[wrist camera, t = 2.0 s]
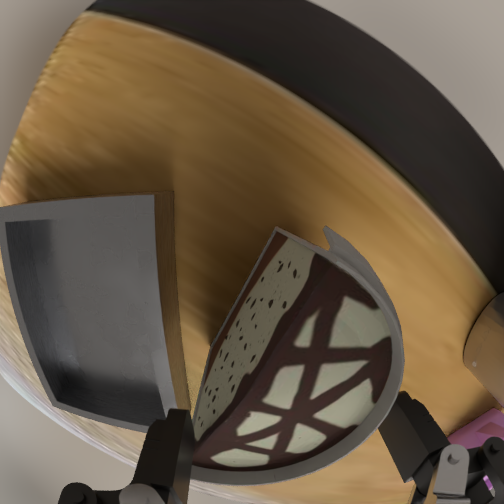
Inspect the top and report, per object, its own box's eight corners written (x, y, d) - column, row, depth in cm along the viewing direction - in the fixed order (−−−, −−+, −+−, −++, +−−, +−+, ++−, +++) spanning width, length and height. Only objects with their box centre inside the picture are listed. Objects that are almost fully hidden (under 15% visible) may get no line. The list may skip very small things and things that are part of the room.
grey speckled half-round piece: (276, 389, 19) (290, 502, 9) (202, 361, 18) (176, 480, 9) (370, 250, 16) (474, 322, 7) (287, 203, 16) (349, 240, 6)
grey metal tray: (173, 191, 15) (154, 194, 12) (191, 408, 20) (184, 438, 16) (27, 201, 15) (-4, 207, 12) (69, 383, 19) (52, 406, 16)
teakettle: (440, 473, 28) (461, 514, 16) (399, 473, 25) (422, 531, 13) (505, 411, 25) (535, 449, 13) (484, 395, 22) (528, 448, 10)
